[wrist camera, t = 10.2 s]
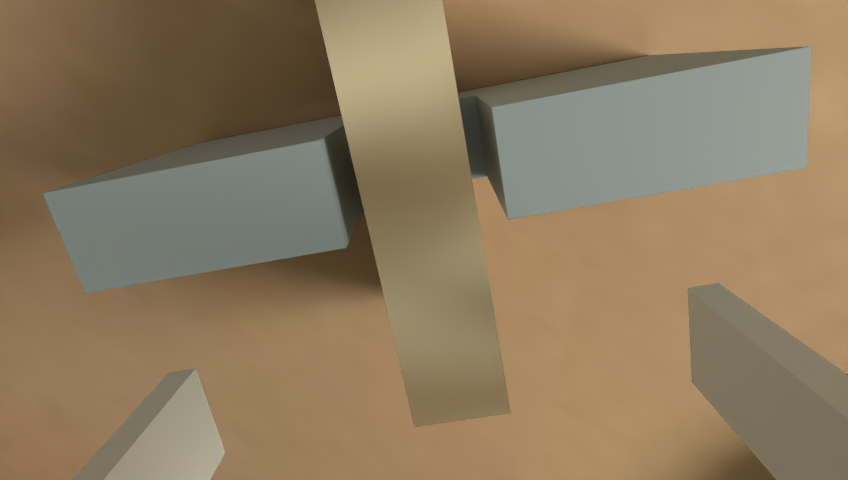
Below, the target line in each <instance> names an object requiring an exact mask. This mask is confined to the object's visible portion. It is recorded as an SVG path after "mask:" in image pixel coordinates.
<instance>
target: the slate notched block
mask: <svg viewBox="0 0 848 480" xmlns="http://www.w3.org/2000/svg"><path fill="white" fill-rule="evenodd" d="M810 66H811V46H808V47H790V48H772V49H754V50H737V51H719V52H701V53H683V54H665V55H649V56H644V57H639V58H634V59H629V60H623V61H618V62H613V63H608V64H603V65H598V66H593V67H587V68H582V69H577V70H572V71H567V72H562V73H557V74H551V75H546V76H541V77H536V78H531V79H526V80H521V81H515V82H510V83H505V84H500V85H495V86H490V87H484V88H479V89H474V90H469V91H464V92H459V93H458V98H459V104H460V110H461V116H462V122H463V129H464V135H465V141H466V147H467V153H468V159H469V165H470V171H471V177H472V179H474V178H479V177H485V176H488V178H489V181H490V183H491V185H492V187H493V189H494V191H495V193H496V195H497V197H498V200H499V202H500V204H501V206H502V208H503V210H504V212H505V214H506V216H507V219H508V220H510V219H516V218H522V217H527V216H533V215H539V214H545V213H550V212H556V211H562V210H568V209H573V208H579V207H585V206H591V205H596V204H602V203H608V202H614V201H619V200H625V199H631V198H637V197H642V196H648V195H654V194H660V193H665V192H671V191H677V190H683V189H688V188H694V187H700V186H706V185H711V184H717V183H723V182H729V181H735V180H740V179H746V178H752V177H758V176H763V175H769V174H775V173H781V172H786V171H792V170H798V169H804V168H807V147H808V120H809V93H810ZM43 195H44V198H45V200H46V203H47V205H48V207H49V210H50V212H51V214H52V217H53V219H54V221H55V224H56V226H57V229H58V231H59V233H60V236H61V238H62V240H63V243H64V245H65V247H66V250H67V252H68V255H69V257H70V259H71V262H72V264H73V266H74V269H75V271H76V273H77V276H78V278H79V281H80V283H81V285H82V288H83V290H84V292H85V293H90V292H96V291H101V290H107V289H113V288H119V287H125V286H130V285H136V284H142V283H148V282H153V281H159V280H165V279H171V278H176V277H182V276H188V275H194V274H199V273H205V272H211V271H217V270H222V269H228V268H234V267H240V266H245V265H251V264H257V263H263V262H268V261H274V260H280V259H286V258H291V257H297V256H303V255H309V254H314V253H320V252H326V251H332V250H337V249H343V248H346V247H347V245H348V243H349V241H350V239H351V237H352V235H353V233H354V231H355V229H356V227H357V225H358V223H359V221H360V219H361V217H362V215H363V213H364V209H363V205H362V200H361V196H360V192H359V188H358V183H357V179H356V175H355V171H354V166H353V162H352V158H351V153H350V149H349V145H348V141H347V136H346V132H345V128H344V124H343V119H342V115H340V116H335V117H330V118H325V119H320V120H315V121H309V122H304V123H299V124H294V125H289V126H284V127H279V128H273V129H268V130H263V131H258V132H253V133H248V134H243V135H237V136H232V137H227V138H222V139H217V140H212V141H207V142H201V143H198V144H195V145H192V146H188V147H185V148H182V149H179V150H176V151H173V152H170V153H167V154H163V155H160V156H157V157H154V158H151V159H148V160H145V161H142V162H138V163H135V164H132V165H129V166H126V167H123V168H120V169H117V170H113V171H110V172H107V173H104V174H101V175H98V176H95V177H92V178H88V179H85V180H82V181H79V182H76V183H73V184H70V185H67V186H64V187H60V188H57V189H54V190H51V191H48V192H45V193H43Z"/></svg>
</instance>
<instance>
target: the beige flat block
mask: <svg viewBox="0 0 848 480" xmlns="http://www.w3.org/2000/svg"><path fill="white" fill-rule="evenodd" d="M315 4H316V8H317V13H318V17H319V21H320V25H321V30H322V34H323V38H324V42H325V47H326V51H327V55H328V60H329V64H330V68H331V72H332V77H333V81H334V85H335V89H336V94H337V98H338V102H339V107H340V111H341V115H342V119H343V124H344V128H345V132H346V136H347V141H348V145H349V149H350V153H351V158H352V162H353V166H354V171H355V175H356V179H357V183H358V188H359V192H360V196H361V200H362V205H363V209H364V213H365V217H366V222H367V226H368V230H369V235H370V239H371V243H372V247H373V252H374V256H375V260H376V264H377V269H378V273H379V277H380V282H381V286H382V290H383V294H384V299H385V303H386V307H387V311H388V316H389V320H390V324H391V328H392V333H393V337H394V341H395V346H396V350H397V354H398V358H399V363H400V367H401V371H402V375H403V380H404V384H405V388H406V392H407V397H408V401H409V405H410V410H411V414H412V418H413V422H414V427H419V426H425V425H432V424H439V423H446V422H453V421H459V420H466V419H473V418H480V417H487V416H494V415H500V414H507V413H510V407H509V401H508V395H507V389H506V382H505V376H504V370H503V364H502V358H501V352H500V346H499V340H498V334H497V328H496V322H495V316H494V310H493V304H492V298H491V292H490V286H489V280H488V274H487V268H486V262H485V255H484V249H483V243H482V237H481V231H480V225H479V219H478V213H477V207H476V201H475V195H474V189H473V183H472V177H471V171H470V165H469V159H468V153H467V147H466V141H465V135H464V129H463V122H462V116H461V110H460V104H459V98H458V92H457V86H456V80H455V74H454V68H453V62H452V56H451V50H450V44H449V38H448V32H447V26H446V20H445V14H444V8H443V2H442V0H315Z"/></svg>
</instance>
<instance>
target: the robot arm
mask: <svg viewBox="0 0 848 480" xmlns="http://www.w3.org/2000/svg"><path fill="white" fill-rule="evenodd" d="M688 307H689V328H690V349H691V370H692V383H693V384H694V385H695V386H696V387H697V388H698V390H699V391H700V392H701V393H702V394H703V395H704V397H705V398H706V399H707V400H708V401H709V402H710V404H711V405H712V406H713V407H714V408H715V409H716V411H717V412H718V413H719V414H720V415H721V416H722V417H723V419H724V420H725V421H726V422H727V423H728V424H729V426H730V427H731V428H732V429H733V430H734V431H735V433H736V434H737V435H738V436H739V437H740V438H741V440H742V441H743V442H744V443H745V444H746V445H747V447H748V448H749V449H750V450H751V451H752V452H753V454H754V455H755V456H756V457H757V458H758V459H759V461H760V462H761V463H762V464H763V465H764V466H765V468H766V469H767V470H768V471H769V472H770V473H771V475H772V476H773V477H774V478H775V479H776V480H848V374H846V373H844V372H843V371H841V370H840V369H839V368H837V367H836V366H834V365H833V364H832V363H830V362H829V361H827V360H826V359H825V358H823V357H822V356H820V355H819V354H818V353H816V352H815V351H813V350H812V349H810V348H809V347H808V346H806V345H805V344H803V343H802V342H801V341H799V340H798V339H796V338H795V337H794V336H792V335H791V334H789V333H788V332H787V331H785V330H784V329H782V328H781V327H779V326H778V325H777V324H775V323H774V322H772V321H771V320H770V319H768V318H767V317H765V316H764V315H763V314H761V313H760V312H758V311H757V310H756V309H754V308H753V307H751V306H750V305H748V304H747V303H746V302H744V301H743V300H741V299H740V298H739V297H737V296H736V295H734V294H733V293H732V292H730V291H729V290H727V289H726V288H725V287H723V286H722V285H720V284H719V283H716V284H710V285H704V286H698V287H692V288H688ZM224 454H225V450H224V447H223V445H222V442H221V439H220V436H219V433H218V430H217V428H216V425H215V422H214V419H213V416H212V413H211V411H210V408H209V405H208V402H207V399H206V396H205V394H204V391H203V388H202V385H201V382H200V380H199V377H198V374H197V371H196V369H190V370H183V371H177V372H171V373H168V374H167V375H166V377H165V378H164V379H163V380H162V381H161V382H160V383H159V384H158V385H157V387H156V388H155V389H154V390H153V391H152V392H151V393H150V394H149V395H148V396H147V398H146V399H145V400H144V401H143V402H142V403H141V404H140V405H139V406H138V408H137V409H136V410H135V411H134V412H133V413H132V414H131V415H130V416H129V417H128V419H127V420H126V421H125V422H124V423H123V424H122V425H121V426H120V427H119V429H118V430H117V431H116V432H115V433H114V434H113V435H112V436H111V437H110V438H109V440H108V441H107V442H106V443H105V444H104V445H103V446H102V447H101V448H100V450H99V451H98V452H97V453H96V454H95V455H94V456H93V457H92V458H91V459H90V461H89V462H88V463H87V464H86V465H85V466H84V467H83V468H82V469H81V470H80V472H79V473H78V474H77V475H76V476H75V477H74V478H73V479H72V480H210V479H211V477H212V475H213V474H214V472H215V470H216V468H217V466H218V465H219V463H220V461H221V459H222V457H223V456H224Z"/></svg>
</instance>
